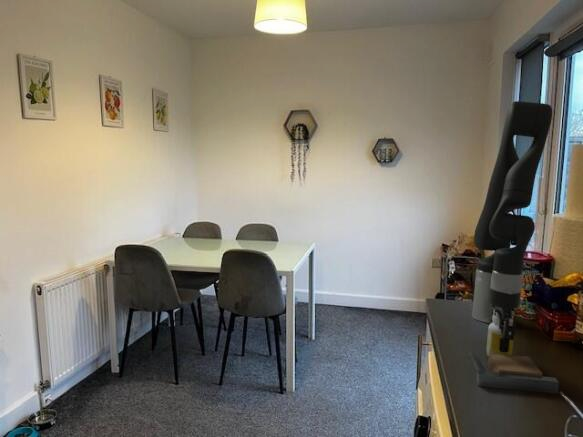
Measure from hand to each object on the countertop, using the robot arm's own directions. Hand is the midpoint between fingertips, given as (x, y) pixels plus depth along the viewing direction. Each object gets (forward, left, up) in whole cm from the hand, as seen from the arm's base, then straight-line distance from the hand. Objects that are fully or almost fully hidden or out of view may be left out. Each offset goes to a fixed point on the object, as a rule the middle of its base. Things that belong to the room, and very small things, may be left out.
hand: (499, 345), depth 121 cm
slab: (+9, +1, -4) cm, 10 cm away
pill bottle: (0, 0, -3) cm, 3 cm away
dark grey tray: (+7, 0, -4) cm, 8 cm away
